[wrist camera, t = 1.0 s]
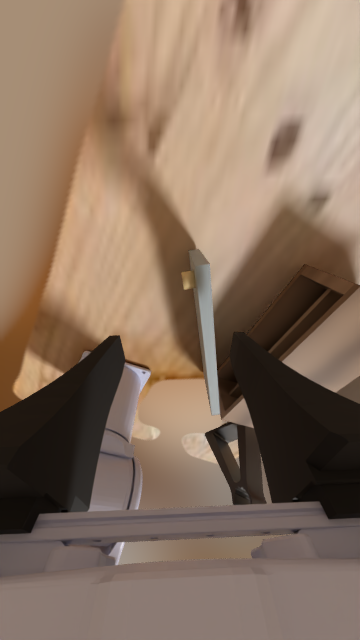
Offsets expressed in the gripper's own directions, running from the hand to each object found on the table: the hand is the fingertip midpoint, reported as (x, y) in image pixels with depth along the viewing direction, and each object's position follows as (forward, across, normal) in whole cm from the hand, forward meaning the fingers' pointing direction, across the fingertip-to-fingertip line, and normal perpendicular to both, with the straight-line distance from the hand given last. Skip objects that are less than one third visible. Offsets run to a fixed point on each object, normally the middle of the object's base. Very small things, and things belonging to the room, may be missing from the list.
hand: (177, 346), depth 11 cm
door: (+9, -3, +5) cm, 11 cm away
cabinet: (+10, -13, +8) cm, 18 cm away
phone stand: (+10, -10, +31) cm, 34 cm away
